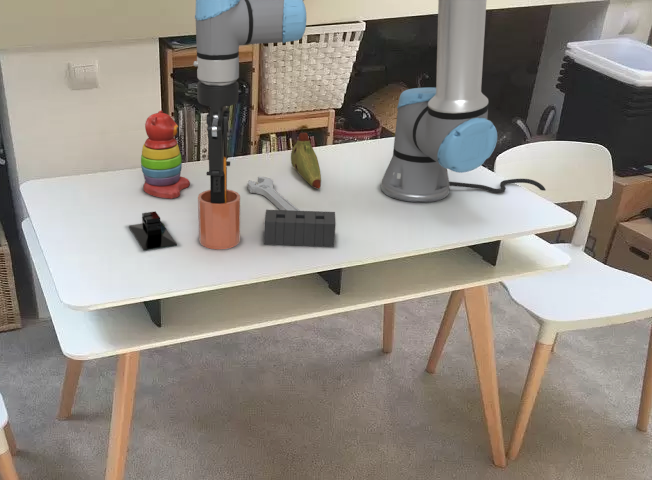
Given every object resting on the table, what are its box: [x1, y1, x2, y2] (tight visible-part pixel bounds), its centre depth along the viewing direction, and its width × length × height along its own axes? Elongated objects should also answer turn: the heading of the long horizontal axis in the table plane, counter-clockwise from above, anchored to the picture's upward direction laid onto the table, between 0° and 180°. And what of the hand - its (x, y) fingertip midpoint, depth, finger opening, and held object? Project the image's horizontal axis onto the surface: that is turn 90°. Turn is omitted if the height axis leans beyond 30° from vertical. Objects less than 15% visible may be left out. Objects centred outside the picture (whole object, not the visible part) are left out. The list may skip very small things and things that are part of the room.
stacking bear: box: [140, 109, 191, 200], centre depth 174 cm, size 11×10×18 cm
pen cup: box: [197, 188, 241, 250], centre depth 152 cm, size 8×8×10 cm
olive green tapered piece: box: [290, 131, 322, 190], centre depth 181 cm, size 20×5×10 cm, turn 11°
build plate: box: [128, 211, 178, 252], centre depth 156 cm, size 12×7×5 cm, turn 19°
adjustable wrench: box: [247, 176, 301, 211], centre depth 171 cm, size 25×6×2 cm, turn 16°
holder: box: [263, 209, 337, 248], centre depth 153 cm, size 14×6×5 cm, turn 84°
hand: (218, 202), depth 150 cm, fingers closed on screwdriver, 3 cm apart
